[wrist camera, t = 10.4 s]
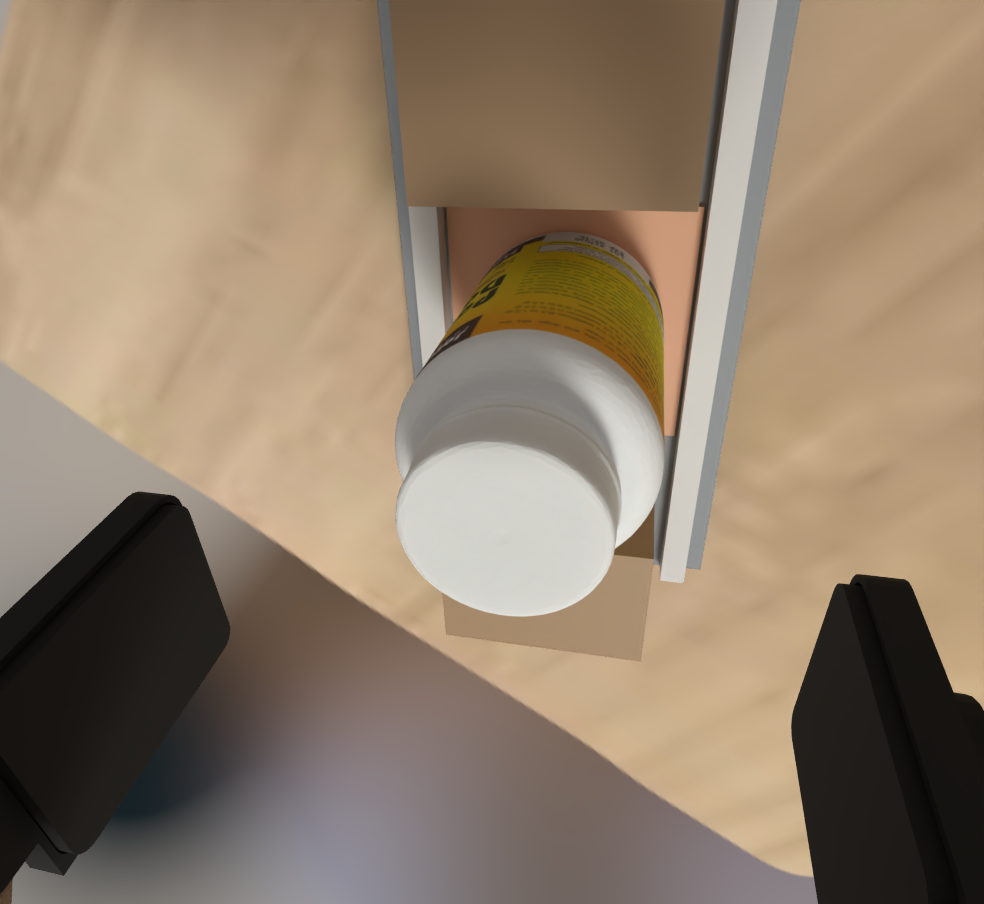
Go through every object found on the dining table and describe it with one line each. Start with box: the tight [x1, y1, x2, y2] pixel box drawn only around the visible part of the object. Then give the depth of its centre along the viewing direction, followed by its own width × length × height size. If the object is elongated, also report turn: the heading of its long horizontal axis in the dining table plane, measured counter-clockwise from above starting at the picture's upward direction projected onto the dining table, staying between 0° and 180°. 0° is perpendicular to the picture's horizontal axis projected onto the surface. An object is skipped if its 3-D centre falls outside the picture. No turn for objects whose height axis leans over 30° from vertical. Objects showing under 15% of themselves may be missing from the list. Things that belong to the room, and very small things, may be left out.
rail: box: [377, 0, 801, 661], centre depth 19 cm, size 18×10×6 cm, turn 2°
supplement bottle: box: [395, 232, 665, 617], centre depth 16 cm, size 6×6×10 cm
